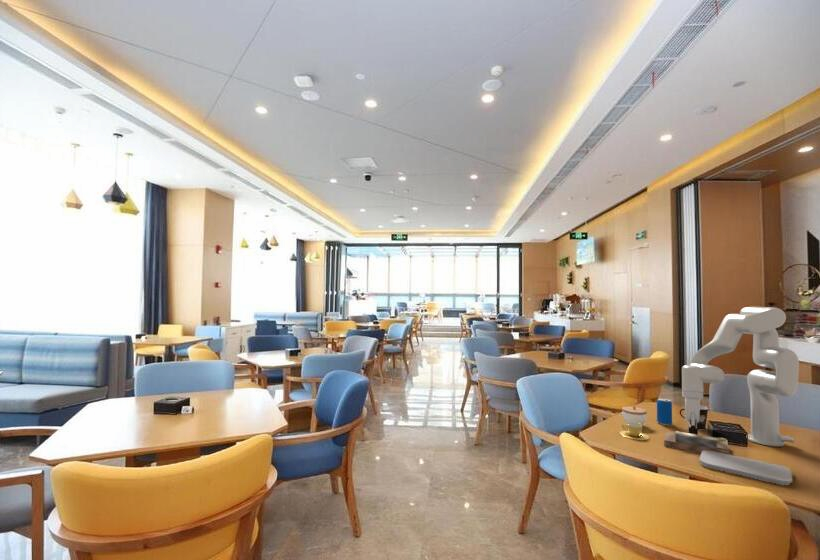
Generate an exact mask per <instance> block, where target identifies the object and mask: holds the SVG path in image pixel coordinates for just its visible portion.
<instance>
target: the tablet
mask: <svg viewBox="0 0 820 560" xmlns="http://www.w3.org/2000/svg"><path fill="white" fill-rule="evenodd" d="M699 462H700V463H701V466H703V467H704V468H707V469H712V470H716V471H719V470H720V472H723V471H725V472H724V473H728V472H730V473H729V474H732V473H734V474H733V475H736V474H738V475H737V476H740V475H742V477H745V476H746V477H745V478H749V477H750V479H753V478H754V479H755V480H757V479H758V481H762V482H766V483H770V482H773V483H772V484H774V483H777V484H776V485H779V484H780V485H779V486H784V485H789V486H790V484H791V483H793V475H792V471H791V469H790V468H788V467H786V466H783V465H780V464H776V463H772V462H766V461H762V460H757V459H751V458H746V457H742V456H738V455H737V456H736V455H734V454H733V455H732V454H730V455H729V454H724V453H719V452H714V451H709V450H704V451H702V453H700V456H699Z"/></svg>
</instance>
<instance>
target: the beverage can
mask: <svg viewBox="0 0 820 560" xmlns="http://www.w3.org/2000/svg"><path fill="white" fill-rule="evenodd" d="M656 422H657V423H658V424H659V423H660V425H662V424H663V425H664V426H671V425H672V424H673V403H672V399H669V398H664V397H663V398H662V397H660V398H657V400H656Z"/></svg>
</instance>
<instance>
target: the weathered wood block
mask: <svg viewBox="0 0 820 560" xmlns="http://www.w3.org/2000/svg"><path fill="white" fill-rule="evenodd" d="M663 440H664V441H663V442H664V443H663V445H664V447H667V446H668V447H667V448H672V447H673V449H677V450H682V449H683V451H687V450H688V452H694V453H699V454H701V453H702V451H704V450H709V451H714V452H719V453H724V454H729V455H731V454H730V448H729V446H728V449H722V448H717V441H715V440H709V439H703V438H698V437H692V436H686V435H681V434H676V432H670V431H666V432H665V435H664V439H663Z"/></svg>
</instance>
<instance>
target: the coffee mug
mask: <svg viewBox="0 0 820 560" xmlns="http://www.w3.org/2000/svg"><path fill="white" fill-rule="evenodd" d="M682 411H685V408H681V409H680V410H679V415H680V416H681V417H682V418H683V419H684V420H685V416H683V415H682ZM708 412H709V408H708V406H704V405H700V416H699V422H698V423H697V428H698V430H699V429H705V428H706V427H707V419H708ZM706 429H707V428H706ZM706 429H705V430H706Z"/></svg>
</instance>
